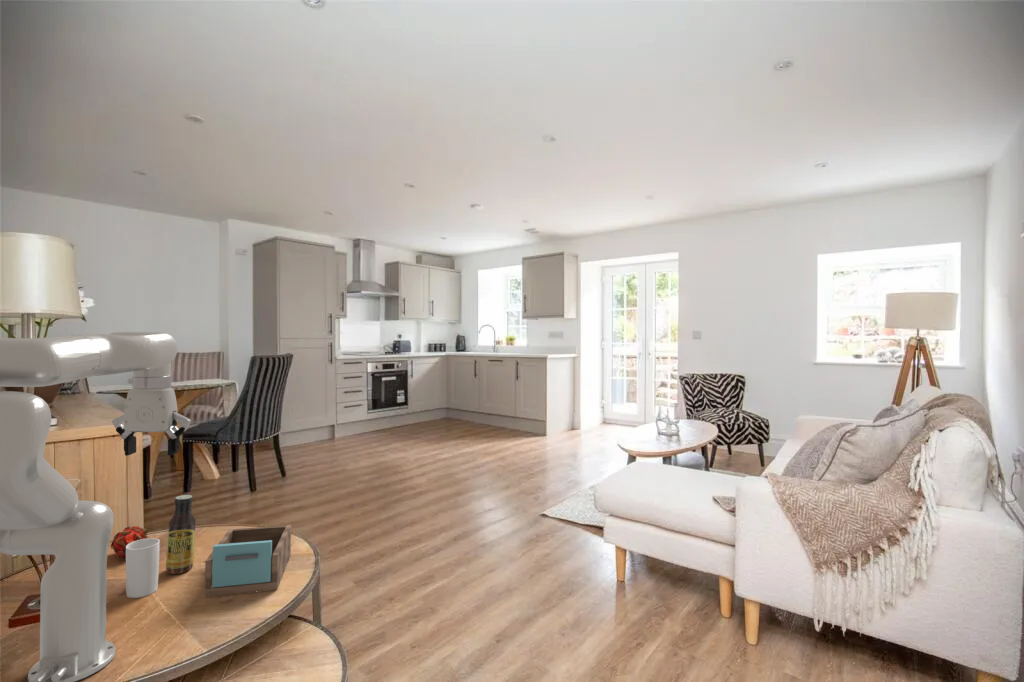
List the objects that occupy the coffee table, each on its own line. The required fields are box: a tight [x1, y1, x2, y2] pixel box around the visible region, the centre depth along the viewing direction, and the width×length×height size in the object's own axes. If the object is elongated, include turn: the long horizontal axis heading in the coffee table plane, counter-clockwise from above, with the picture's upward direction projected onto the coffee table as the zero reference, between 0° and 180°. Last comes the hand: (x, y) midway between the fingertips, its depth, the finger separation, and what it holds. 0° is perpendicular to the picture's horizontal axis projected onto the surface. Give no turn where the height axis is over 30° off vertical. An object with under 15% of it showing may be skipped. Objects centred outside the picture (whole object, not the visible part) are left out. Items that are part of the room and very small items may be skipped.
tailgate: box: [212, 540, 272, 587], centre depth 123 cm, size 2×13×10 cm, turn 105°
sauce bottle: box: [165, 494, 197, 575], centre depth 135 cm, size 7×6×20 cm
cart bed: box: [204, 524, 292, 598], centre depth 133 cm, size 20×16×9 cm
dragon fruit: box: [110, 525, 150, 561], centre depth 143 cm, size 8×8×12 cm
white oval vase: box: [125, 537, 160, 599], centre depth 125 cm, size 10×7×12 cm, turn 24°
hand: (151, 454), depth 120 cm, fingers open, 9 cm apart
